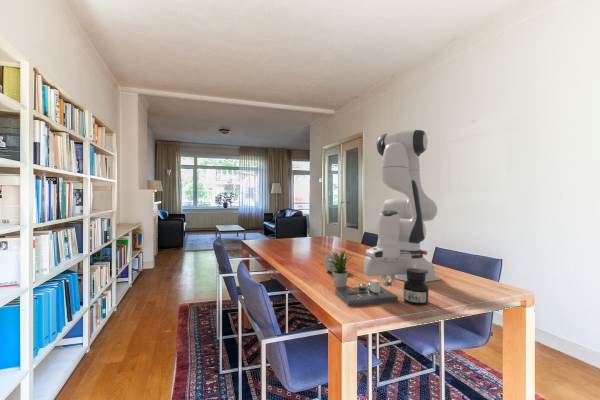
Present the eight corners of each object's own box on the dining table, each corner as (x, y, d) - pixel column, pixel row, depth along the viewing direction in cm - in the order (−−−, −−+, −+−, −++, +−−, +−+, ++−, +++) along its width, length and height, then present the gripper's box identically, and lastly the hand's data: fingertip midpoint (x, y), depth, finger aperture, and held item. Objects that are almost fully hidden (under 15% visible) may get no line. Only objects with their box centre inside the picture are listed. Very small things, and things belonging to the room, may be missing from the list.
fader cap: (375, 289, 121) (375, 279, 121) (380, 292, 118) (380, 282, 117) (369, 289, 121) (369, 279, 121) (374, 292, 117) (374, 282, 117)
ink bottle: (398, 301, 114) (399, 270, 114) (407, 295, 121) (407, 266, 121) (425, 308, 108) (425, 275, 108) (432, 301, 115) (433, 270, 115)
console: (379, 290, 127) (379, 281, 127) (397, 302, 114) (398, 292, 114) (335, 293, 123) (335, 284, 123) (348, 306, 109) (348, 295, 109)
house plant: (327, 279, 144) (328, 245, 143) (356, 281, 140) (357, 246, 139) (320, 287, 130) (320, 250, 130) (352, 291, 126) (353, 252, 126)
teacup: (330, 267, 166) (331, 253, 166) (348, 270, 160) (348, 255, 160) (317, 272, 155) (317, 257, 155) (335, 276, 149) (336, 260, 148)
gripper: (407, 249, 126) (406, 282, 126) (361, 250, 121) (361, 284, 121) (416, 252, 119) (415, 286, 120) (368, 253, 115) (368, 289, 115)
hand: (387, 285), depth 120 cm, fingers closed
